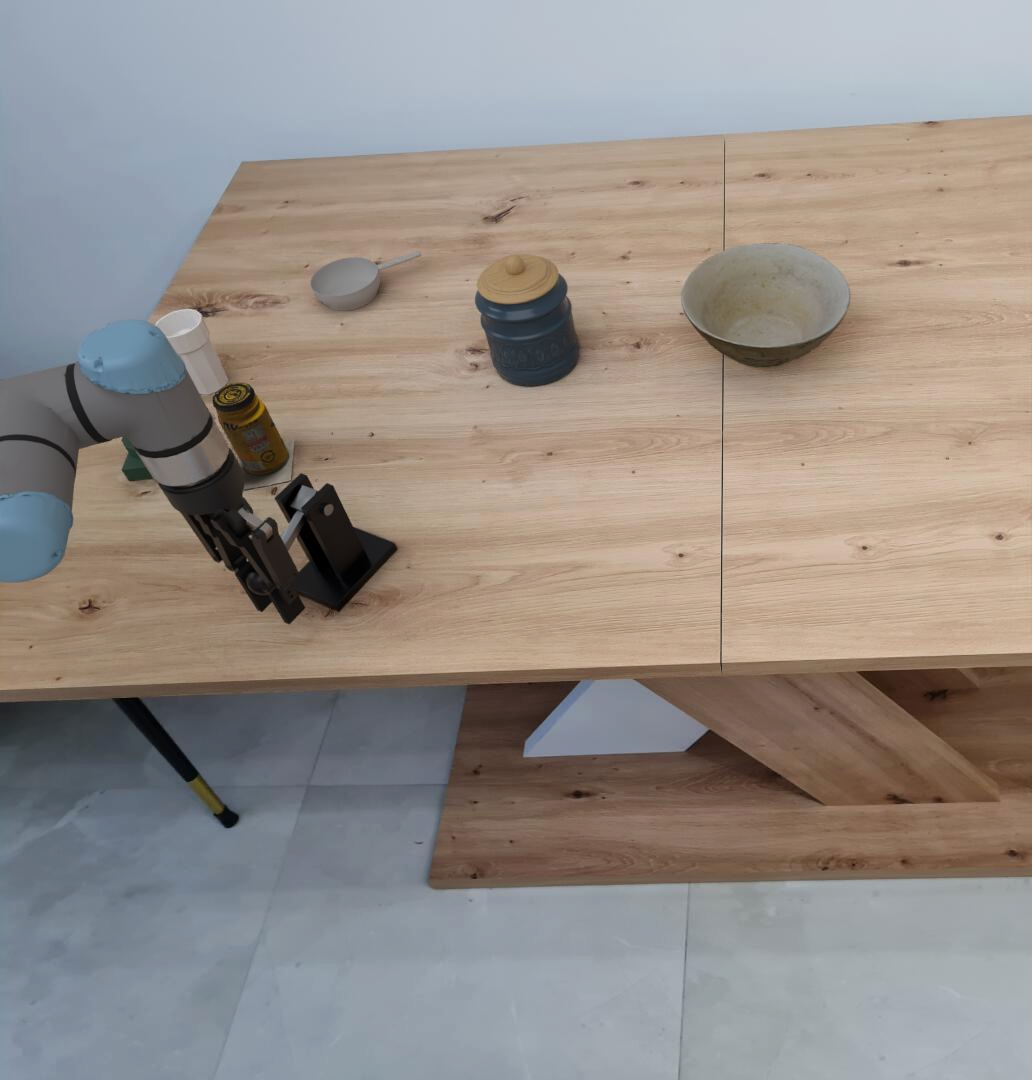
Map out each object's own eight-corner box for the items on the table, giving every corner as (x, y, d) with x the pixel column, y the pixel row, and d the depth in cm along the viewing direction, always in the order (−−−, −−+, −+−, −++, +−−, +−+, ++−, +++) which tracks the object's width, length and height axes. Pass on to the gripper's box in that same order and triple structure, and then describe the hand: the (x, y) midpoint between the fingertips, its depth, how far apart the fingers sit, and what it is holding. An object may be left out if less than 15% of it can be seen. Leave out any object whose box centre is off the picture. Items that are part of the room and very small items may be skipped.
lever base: (339, 612, 125) (296, 534, 115) (289, 590, 128) (243, 513, 117) (397, 549, 131) (362, 470, 121) (349, 529, 134) (310, 451, 124)
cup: (179, 388, 156) (143, 328, 148) (215, 364, 159) (182, 304, 151) (206, 403, 153) (172, 342, 145) (242, 378, 157) (211, 317, 149)
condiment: (294, 440, 146) (260, 372, 138) (291, 481, 141) (255, 414, 132) (241, 450, 146) (204, 383, 137) (236, 492, 140) (196, 425, 131)
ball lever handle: (276, 603, 118) (256, 593, 115) (253, 593, 120) (233, 582, 116) (336, 503, 122) (318, 489, 119) (313, 494, 123) (294, 480, 120)
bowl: (881, 359, 149) (885, 301, 142) (737, 421, 143) (732, 363, 135) (794, 280, 164) (793, 223, 156) (659, 333, 157) (651, 276, 150)
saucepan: (312, 287, 172) (304, 267, 169) (419, 256, 176) (413, 236, 173) (323, 322, 165) (315, 301, 162) (435, 288, 169) (428, 268, 166)
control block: (174, 475, 143) (161, 454, 140) (127, 481, 143) (112, 460, 140) (192, 427, 150) (179, 406, 147) (146, 432, 150) (132, 411, 147)
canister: (570, 324, 160) (548, 221, 147) (590, 374, 152) (569, 270, 138) (487, 345, 158) (457, 243, 145) (502, 397, 149) (472, 293, 136)
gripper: (281, 463, 104) (357, 609, 121) (163, 418, 110) (252, 564, 127) (225, 513, 99) (312, 657, 117) (106, 463, 105) (206, 608, 123)
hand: (281, 608), depth 122 cm, fingers closed on ball lever handle, 4 cm apart
